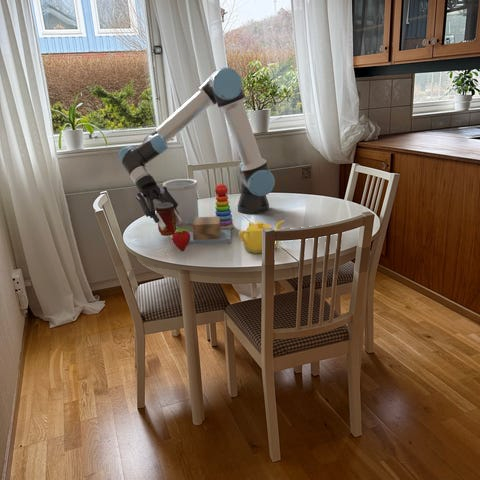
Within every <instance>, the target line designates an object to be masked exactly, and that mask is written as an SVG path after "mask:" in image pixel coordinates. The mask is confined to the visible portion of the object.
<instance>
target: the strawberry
mask: <svg viewBox="0 0 480 480" xmlns="http://www.w3.org/2000/svg"><path fill="white" fill-rule="evenodd" d="M179 226H180V228H176V231H175V233H174V234H173V235H171V241H172V243H173V245H174V246H175V248H177V249H179V250H180V252H185V250H186V249H187V247H188V246H189V245H188V243H189V241H190V233H189V232H188V230H187V228H183V227H181V226H182V225H178V227H179Z"/></svg>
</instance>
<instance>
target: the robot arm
mask: <svg viewBox="0 0 480 480" xmlns="http://www.w3.org/2000/svg"><path fill="white" fill-rule="evenodd" d="M245 99H246V96H245V93H244V90H243V80H242V77H241V75H240V74H239V72H237V71H236V70H235V69H233V68H231V67H222V68H219V69H216V70H215V71H213V72H212V73H211V74H210V75H209V77H208V78H207V79H206V80H205V82H203V83H202V84H201V85H200V86H199V87H198V91H197V92H196V93H194V95H192V96H191V98H189V99H188V100H187V101H186V102H185V103H184V104H182V105H181V106H180V107H179V108H178V109H177V110H175V112H174V113H172V114H171V115H170V116H169V117H168V118H166V120H164V121H163V122H162V123H161V124H160V125H159V126H157V128H155V129H154V130H153V131H152V132H151V133H149V134H148V135H147V136H145V138H144V139H143V141H142V142H141V144H139V145H138V146H136V147H134V146H131V145H127V146H126V147H123V148H122V149H120V151H118V158H119V160H120V162H121V164H122V166H123V168H124V169H125V171H126V172H127V173H128V175H129V176H130V178H131V180H132V181H133V183H134V184H135V186H136V188H137V190H138V191H139V192H138V193H137V194H136V197H135V199H136V200H137V201H138V202H139V204H140V206H141V208H142V211H143V213H144V215H145V217H146V218H150V219H153V221H154V222H155V223H156V224H157V226H158V225H159V226H160V228H161V229H162V230H164V229H165V227H166V225H165V224H164V222H163V220H162V219H161V217H160V216H159V214H158V213H156V207H155V204H154V200H157V201H158V202H160V203H164V202H169V203H172V204H173V205H174V211H175V220H176V223H177V224H178V226H179V225H180V224H181V222H182V220H181V218H180V217H179V213H178V211H177V210H176V208H177V206H178V203H177V202H176V201H175V200H174V198H173V197H172V196H171V195H170V193H169V192H168V191H167V188H166V187H164V188H163V187H160V186H158V184H157V182H156V180H155V178H154V177H153V175H152V174H151V171H150V170H149V169H148V167H147V166H146V164H148V163H149V162H150V161H152V160H154V159H155V158H156V157H158V156H160V155H161V154H163V153H164V152H165V151H167V150H168V148H169V146H168V145H167V144H168V143H169V142H170V141H171V140H173V139H174V138H175V137H176V136H177V135H178V134H179V133H181V132H182V131H183V130H184V129H185V128H186V127H188V126H189V125H191V123H192V122H193V121H195V120H196V119H197V117H199V116H201V114H203V112H205V111H206V110H207V109H208V108H209V107H210V106H215V105H216V104H217V107H218V108H219V109H220V110H222V111H223V113H224V115H225V118H226V121H227V124H228V127H229V130H230V132H231V136H232V139H233V142H234V144H235V146H236V150H237V152H238V155H239V158H240V161H241V162H240V163H239V164H238V165H239V168H238V171H239V185H240V186H239V187H240V195H239V199H238V203H237V211H238V212H239V213H241V214H242V213H243V214H261V213H265V212H268V211H269V210H270V202H269V200H268V197H267V195H269V194H270V193H271V192H272V191H273V189H274V188H275V184H276V180H275V176H274V175H273V173H272V172H271V170H270V168H269V165H268V161H267V159H265V158H263V157H262V156H261V152H260V149H259V147H258V144H257V141H256V140H257V139H256V137H255V134H254V131H253V128H252V125H251V122H250V119H249V116H248V113H247V110H246V108H245V105H244V103H245ZM180 226H181V225H180Z"/></svg>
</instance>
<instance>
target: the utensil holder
mask: <svg viewBox="0 0 480 480" xmlns="http://www.w3.org/2000/svg"><path fill="white" fill-rule="evenodd" d="M197 186H198V181H197V180H196V179H193V178H192V179H191V178H177V179H171V180H167V181H164V182H163V183H162V188H164V187H166V188H167V191H168V192H169V193H170V195H171V196H172V197H173V198H174V200H175V201H176V202H177V203H178V206H177V208H176V210H177V211H178V213H179V217H180V218H181V220H182V222H181V224H180V226H182V225H190V224H193V222H194V219H195V217H200V215H199V202H198V200H199V199H198V190H197V189H198V188H197ZM177 225H178V224H177V223H176V226H177ZM178 226H179V225H178Z"/></svg>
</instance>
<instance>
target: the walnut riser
mask: <svg viewBox="0 0 480 480" xmlns="http://www.w3.org/2000/svg"><path fill="white" fill-rule="evenodd" d="M215 216H216V215H215ZM215 216H199V217H195V219H194V222H193V223H192V225H191V226H192V231H193V238H194V240H206V239H220V234H221V223H220V216H216V217H215Z"/></svg>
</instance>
